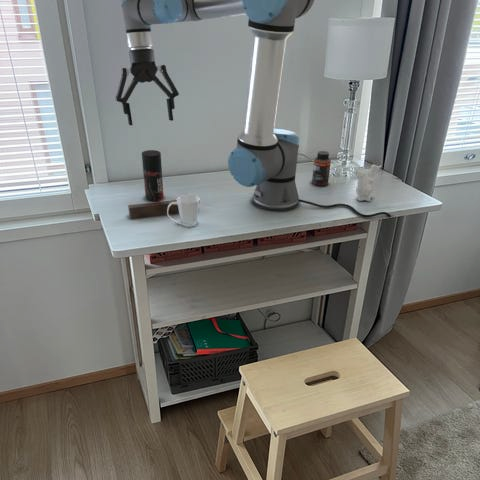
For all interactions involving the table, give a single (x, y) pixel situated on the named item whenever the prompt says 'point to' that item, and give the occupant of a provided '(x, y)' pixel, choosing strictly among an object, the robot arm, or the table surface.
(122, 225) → the table surface
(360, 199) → the koala figurine
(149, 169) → the deodorant
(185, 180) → the table surface
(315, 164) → the supplement bottle
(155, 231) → the table surface
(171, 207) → the wooden block
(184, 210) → the cup
